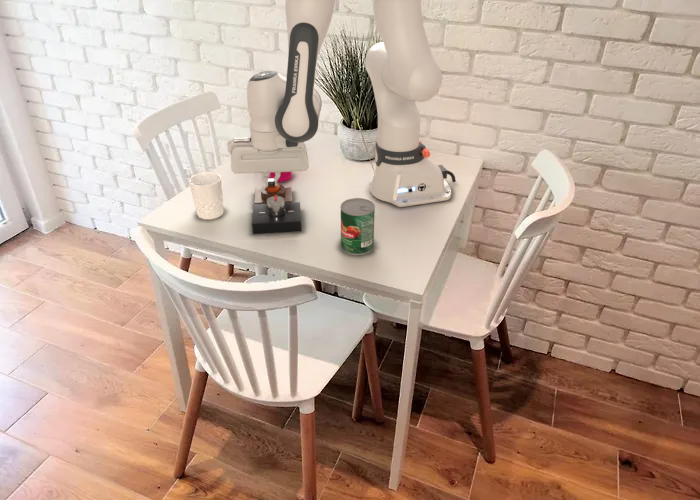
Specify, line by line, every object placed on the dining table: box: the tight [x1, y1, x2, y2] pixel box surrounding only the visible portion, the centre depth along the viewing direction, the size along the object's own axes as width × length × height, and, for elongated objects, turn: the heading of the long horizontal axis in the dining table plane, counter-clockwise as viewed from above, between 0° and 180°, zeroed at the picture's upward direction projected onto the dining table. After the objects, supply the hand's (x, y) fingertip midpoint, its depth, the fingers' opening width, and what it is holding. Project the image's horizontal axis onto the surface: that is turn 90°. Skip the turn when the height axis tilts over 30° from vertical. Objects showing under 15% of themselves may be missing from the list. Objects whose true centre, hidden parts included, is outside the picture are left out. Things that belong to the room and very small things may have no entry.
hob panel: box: [251, 201, 303, 235], centre depth 142 cm, size 12×10×3 cm
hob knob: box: [267, 195, 285, 217], centre depth 140 cm, size 4×4×4 cm
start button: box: [266, 182, 280, 193], centre depth 151 cm, size 4×4×2 cm
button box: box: [253, 183, 293, 204], centre depth 152 cm, size 10×8×4 cm
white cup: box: [188, 171, 224, 220], centre depth 144 cm, size 8×8×10 cm
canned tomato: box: [340, 197, 376, 256], centre depth 131 cm, size 8×8×11 cm
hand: (271, 185), depth 150 cm, fingers closed, pressing on start button
